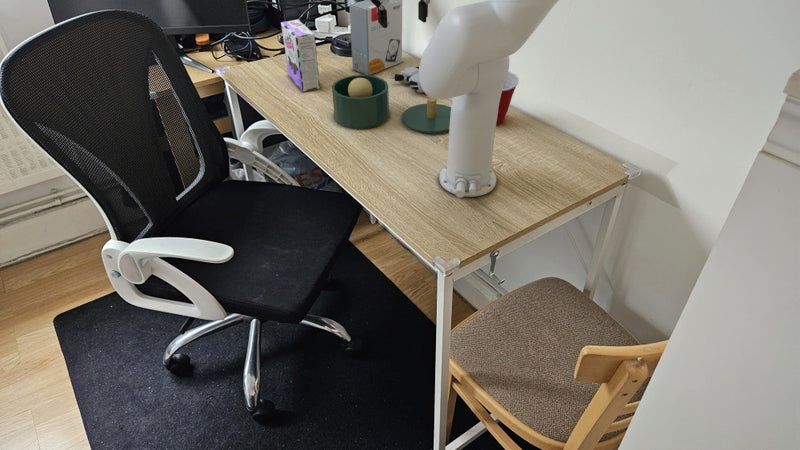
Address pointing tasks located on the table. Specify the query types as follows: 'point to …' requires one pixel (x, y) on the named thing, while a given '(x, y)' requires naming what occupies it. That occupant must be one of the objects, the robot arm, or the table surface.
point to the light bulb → (360, 88)
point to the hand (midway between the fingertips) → (403, 23)
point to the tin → (361, 103)
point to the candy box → (301, 55)
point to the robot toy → (409, 78)
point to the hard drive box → (375, 37)
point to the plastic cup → (506, 96)
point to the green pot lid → (428, 117)
